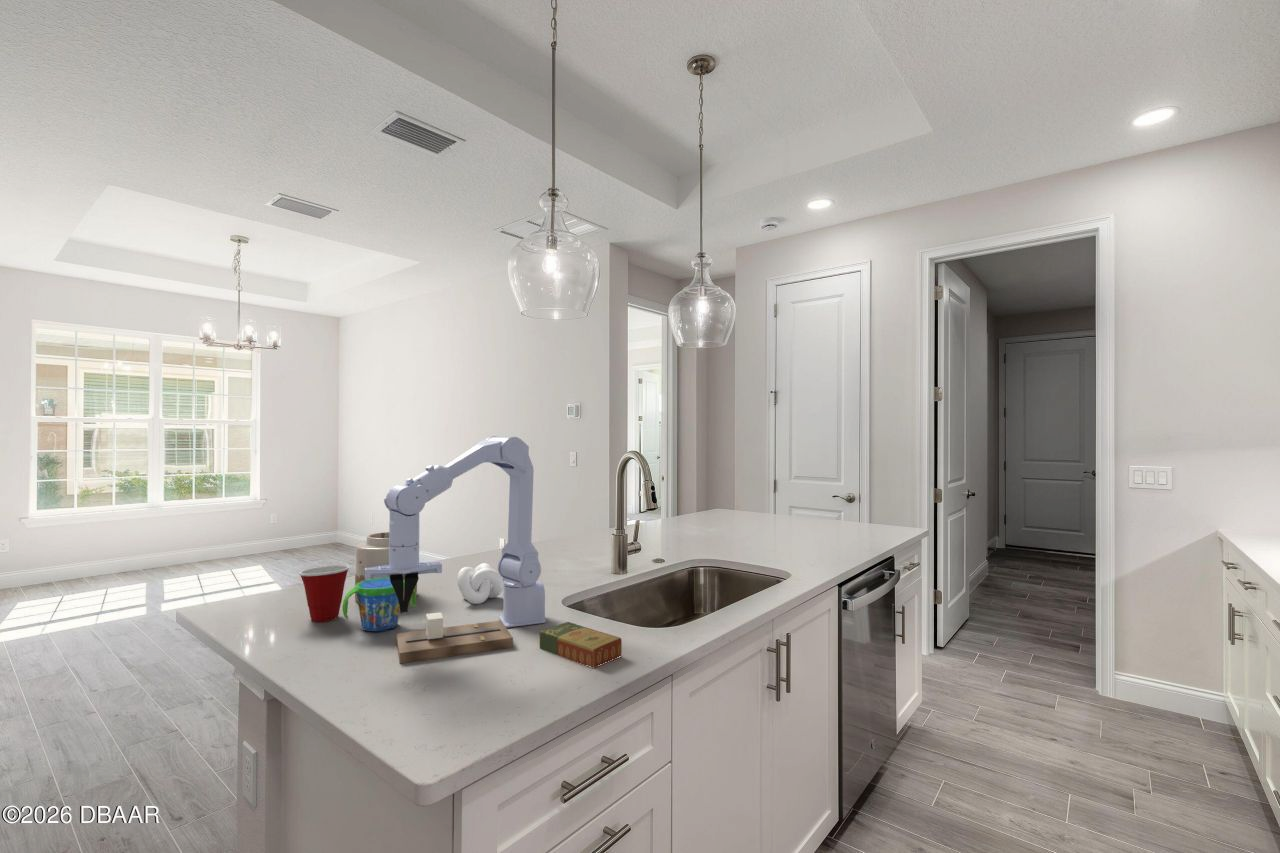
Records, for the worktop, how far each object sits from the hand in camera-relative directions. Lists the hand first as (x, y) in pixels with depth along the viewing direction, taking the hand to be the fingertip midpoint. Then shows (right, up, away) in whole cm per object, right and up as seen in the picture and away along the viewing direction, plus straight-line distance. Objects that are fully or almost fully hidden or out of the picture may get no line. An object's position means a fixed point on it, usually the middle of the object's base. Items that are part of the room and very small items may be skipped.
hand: (403, 610), depth 123 cm
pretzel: (+6, -9, +37) cm, 38 cm away
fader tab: (+5, -6, +2) cm, 8 cm away
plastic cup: (-27, -8, +21) cm, 35 cm away
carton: (+36, -9, +1) cm, 37 cm away
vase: (-20, -8, +38) cm, 44 cm away
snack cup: (-11, -8, +15) cm, 20 cm away
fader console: (+9, -8, +4) cm, 13 cm away
